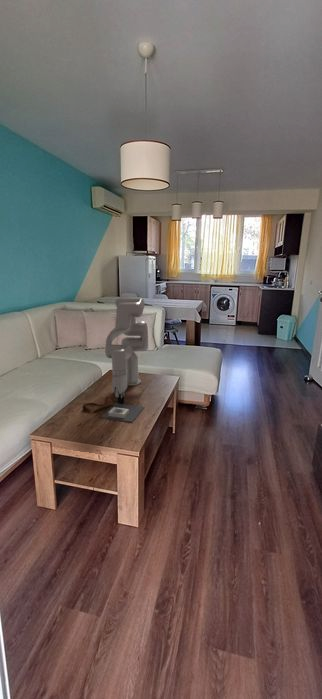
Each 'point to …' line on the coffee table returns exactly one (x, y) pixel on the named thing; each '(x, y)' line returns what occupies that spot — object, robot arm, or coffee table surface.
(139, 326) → the robot arm
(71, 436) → the coffee table surface
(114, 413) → the block
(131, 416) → the mat
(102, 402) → the sunglasses case
